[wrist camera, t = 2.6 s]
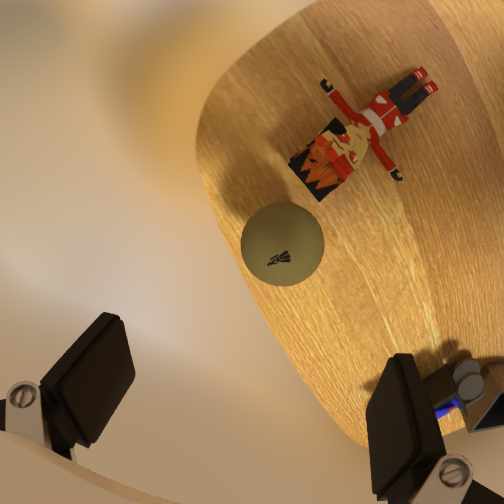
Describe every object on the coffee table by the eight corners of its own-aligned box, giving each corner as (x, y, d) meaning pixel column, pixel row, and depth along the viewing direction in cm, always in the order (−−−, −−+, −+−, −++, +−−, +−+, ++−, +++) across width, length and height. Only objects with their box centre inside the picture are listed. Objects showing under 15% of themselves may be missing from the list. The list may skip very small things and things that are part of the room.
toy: (475, 126, 18) (355, 244, 20) (434, 134, 24) (328, 231, 26) (399, 21, 16) (253, 120, 18) (369, 49, 23) (249, 137, 24)
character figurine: (477, 364, 30) (385, 417, 36) (466, 336, 28) (362, 396, 34) (497, 408, 23) (392, 462, 29) (490, 384, 21) (368, 448, 27)
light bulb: (288, 171, 26) (276, 195, 16) (333, 215, 26) (345, 263, 17) (245, 215, 28) (213, 260, 19) (289, 256, 28) (279, 318, 19)
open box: (524, 359, 28) (539, 384, 23) (497, 400, 31) (508, 425, 26) (485, 362, 29) (500, 390, 24) (458, 405, 33) (468, 433, 28)
